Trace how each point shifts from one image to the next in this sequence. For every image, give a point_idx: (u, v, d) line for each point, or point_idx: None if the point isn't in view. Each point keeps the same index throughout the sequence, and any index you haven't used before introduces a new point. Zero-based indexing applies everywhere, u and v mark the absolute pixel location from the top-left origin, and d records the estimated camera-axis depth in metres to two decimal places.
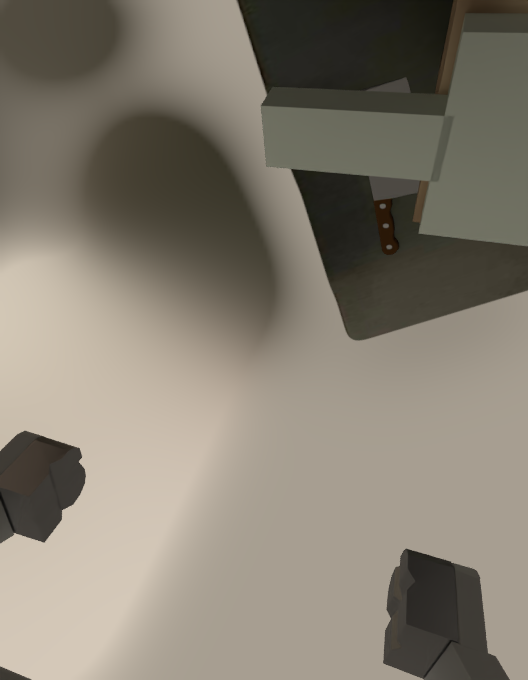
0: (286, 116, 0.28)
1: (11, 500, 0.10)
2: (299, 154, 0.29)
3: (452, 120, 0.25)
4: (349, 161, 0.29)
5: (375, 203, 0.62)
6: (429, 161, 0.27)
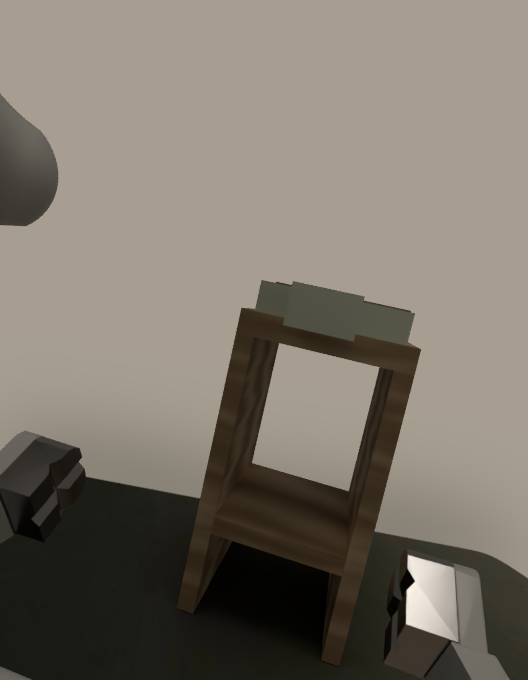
0: None
1: (11, 500, 0.10)
2: None
3: None
4: None
5: None
6: None
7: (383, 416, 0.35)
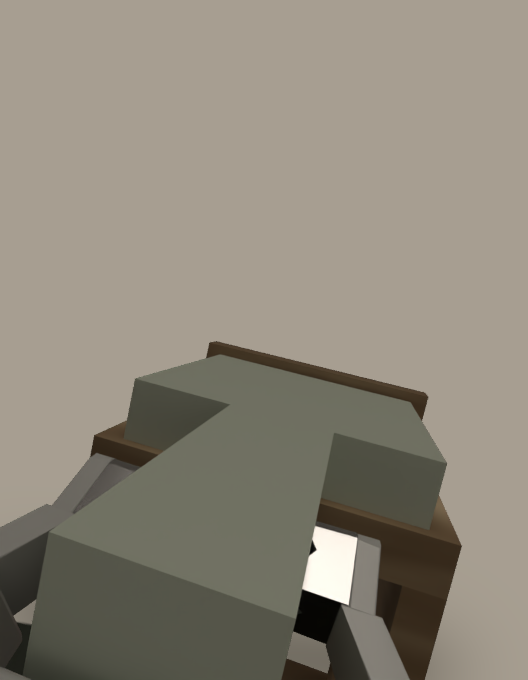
0: (130, 502, 0.09)
1: None
2: (258, 523, 0.09)
3: (238, 403, 0.18)
4: (292, 471, 0.12)
5: None
6: (298, 425, 0.17)
7: None
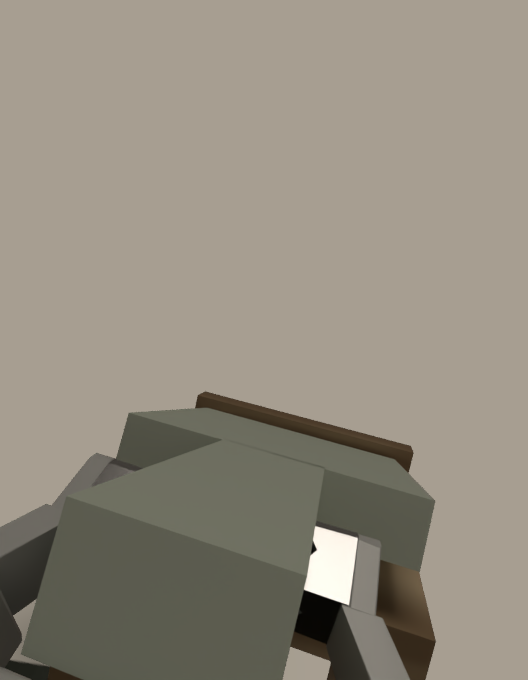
0: (139, 488, 0.09)
1: None
2: (262, 515, 0.09)
3: (230, 440, 0.18)
4: (289, 488, 0.12)
5: None
6: (290, 460, 0.17)
7: None
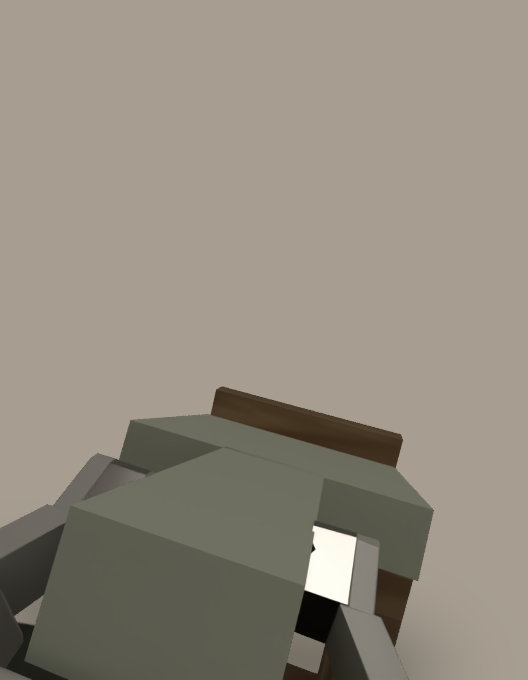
0: (141, 496, 0.09)
1: None
2: (262, 525, 0.09)
3: (231, 448, 0.18)
4: (288, 497, 0.12)
5: None
6: (290, 468, 0.17)
7: None
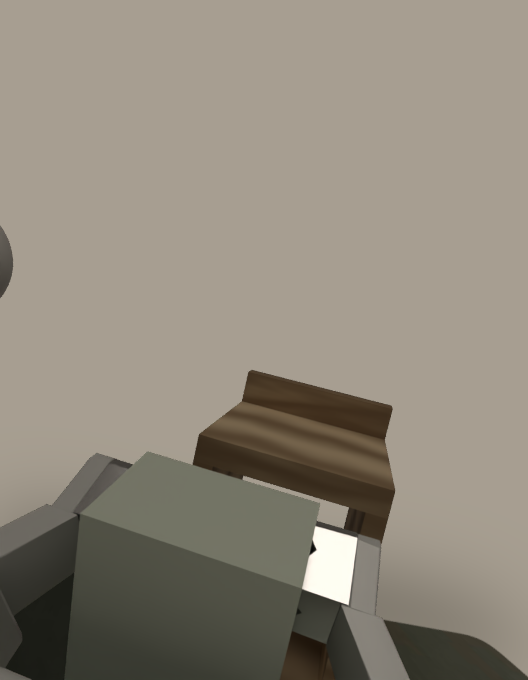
0: None
1: None
2: None
3: None
4: None
5: None
6: None
7: None
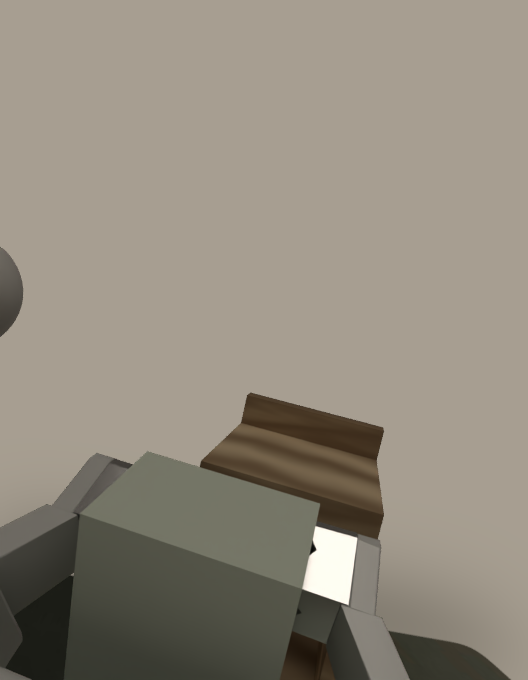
0: None
1: None
2: None
3: None
4: None
5: None
6: None
7: None
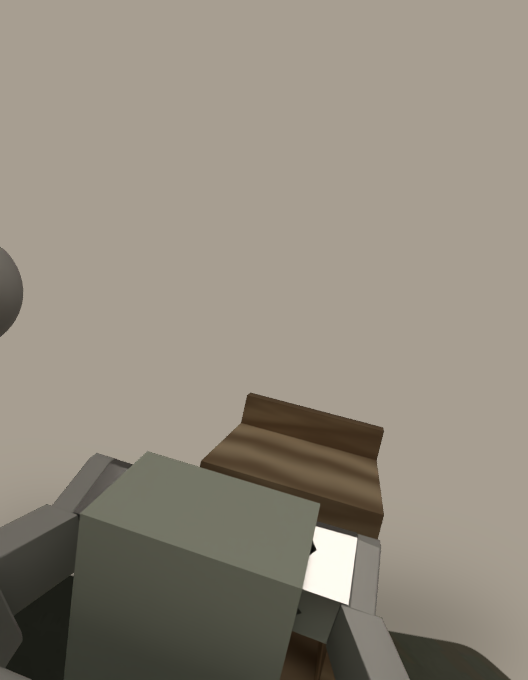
0: None
1: None
2: None
3: None
4: None
5: None
6: None
7: None
